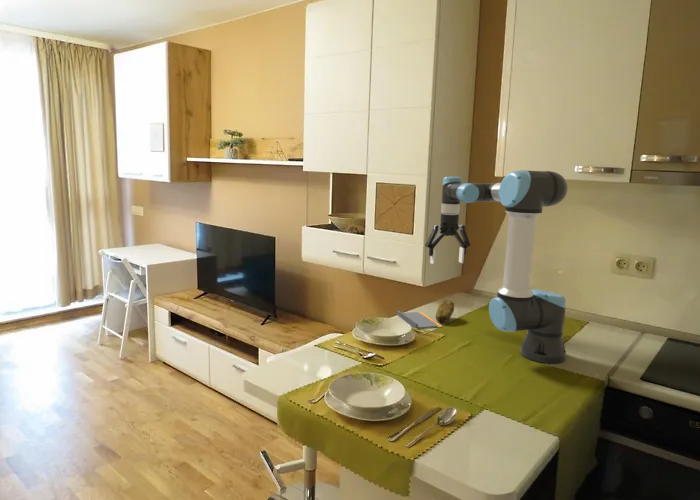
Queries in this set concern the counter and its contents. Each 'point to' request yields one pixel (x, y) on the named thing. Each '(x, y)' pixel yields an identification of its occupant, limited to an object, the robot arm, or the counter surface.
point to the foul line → (430, 319)
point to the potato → (444, 311)
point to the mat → (416, 320)
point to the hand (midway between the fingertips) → (446, 263)
